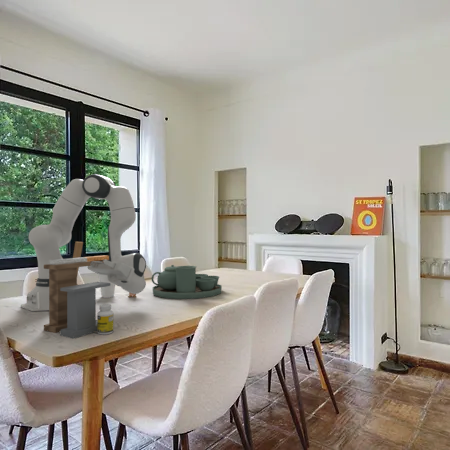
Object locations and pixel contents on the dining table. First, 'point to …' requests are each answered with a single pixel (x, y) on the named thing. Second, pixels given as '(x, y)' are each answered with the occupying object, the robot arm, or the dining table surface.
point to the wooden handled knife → (78, 260)
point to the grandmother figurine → (131, 295)
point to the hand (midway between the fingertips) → (95, 260)
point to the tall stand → (60, 293)
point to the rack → (81, 309)
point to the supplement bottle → (105, 320)
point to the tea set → (185, 283)
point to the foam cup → (107, 290)
